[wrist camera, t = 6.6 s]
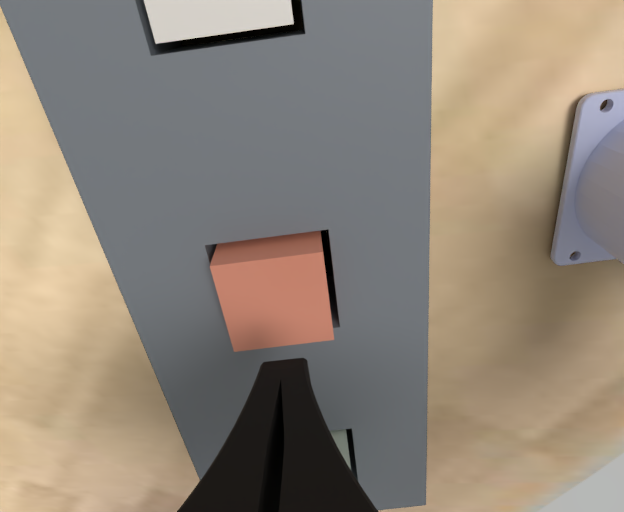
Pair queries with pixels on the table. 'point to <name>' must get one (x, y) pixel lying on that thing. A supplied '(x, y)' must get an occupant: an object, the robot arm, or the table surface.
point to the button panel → (259, 201)
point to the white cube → (214, 17)
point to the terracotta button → (273, 290)
